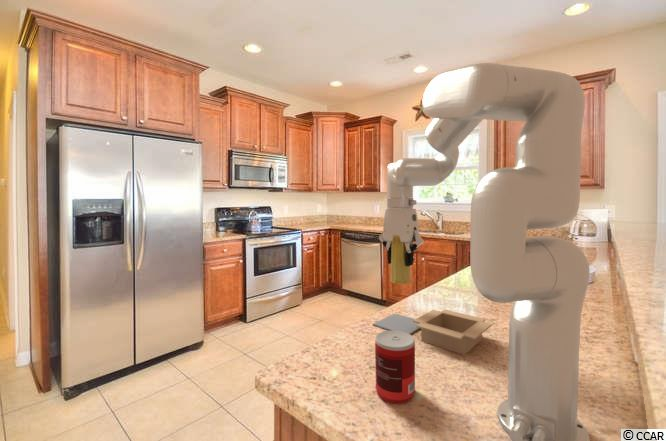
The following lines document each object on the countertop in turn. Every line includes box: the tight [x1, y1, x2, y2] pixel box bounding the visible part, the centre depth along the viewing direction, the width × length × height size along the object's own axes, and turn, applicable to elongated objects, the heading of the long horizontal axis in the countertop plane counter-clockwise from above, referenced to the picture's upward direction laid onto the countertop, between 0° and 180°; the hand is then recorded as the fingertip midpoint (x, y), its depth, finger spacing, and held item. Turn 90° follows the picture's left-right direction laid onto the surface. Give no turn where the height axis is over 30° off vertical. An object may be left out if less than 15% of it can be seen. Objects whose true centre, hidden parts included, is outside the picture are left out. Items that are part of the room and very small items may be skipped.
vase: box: [389, 235, 412, 285], centre depth 96 cm, size 6×6×14 cm
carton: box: [413, 309, 493, 356], centre depth 85 cm, size 17×17×5 cm
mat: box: [372, 313, 421, 336], centre depth 97 cm, size 12×12×1 cm
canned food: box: [374, 330, 416, 405], centre depth 63 cm, size 8×8×11 cm
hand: (400, 263), depth 96 cm, fingers closed on vase, 5 cm apart
